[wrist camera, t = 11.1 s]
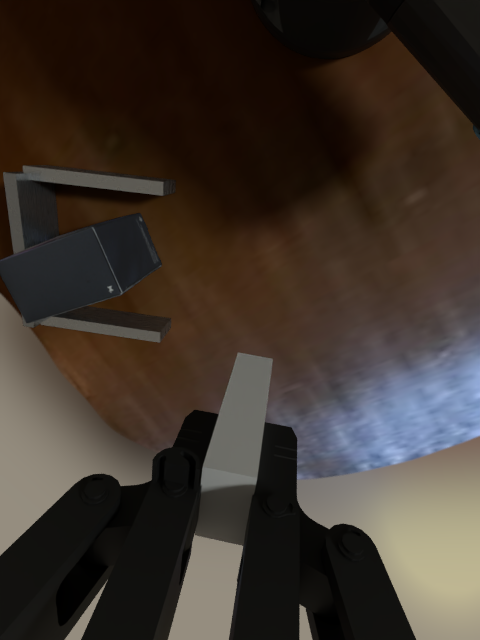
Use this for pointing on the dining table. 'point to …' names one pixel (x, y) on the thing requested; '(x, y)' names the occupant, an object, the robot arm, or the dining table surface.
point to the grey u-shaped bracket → (42, 225)
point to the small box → (80, 267)
